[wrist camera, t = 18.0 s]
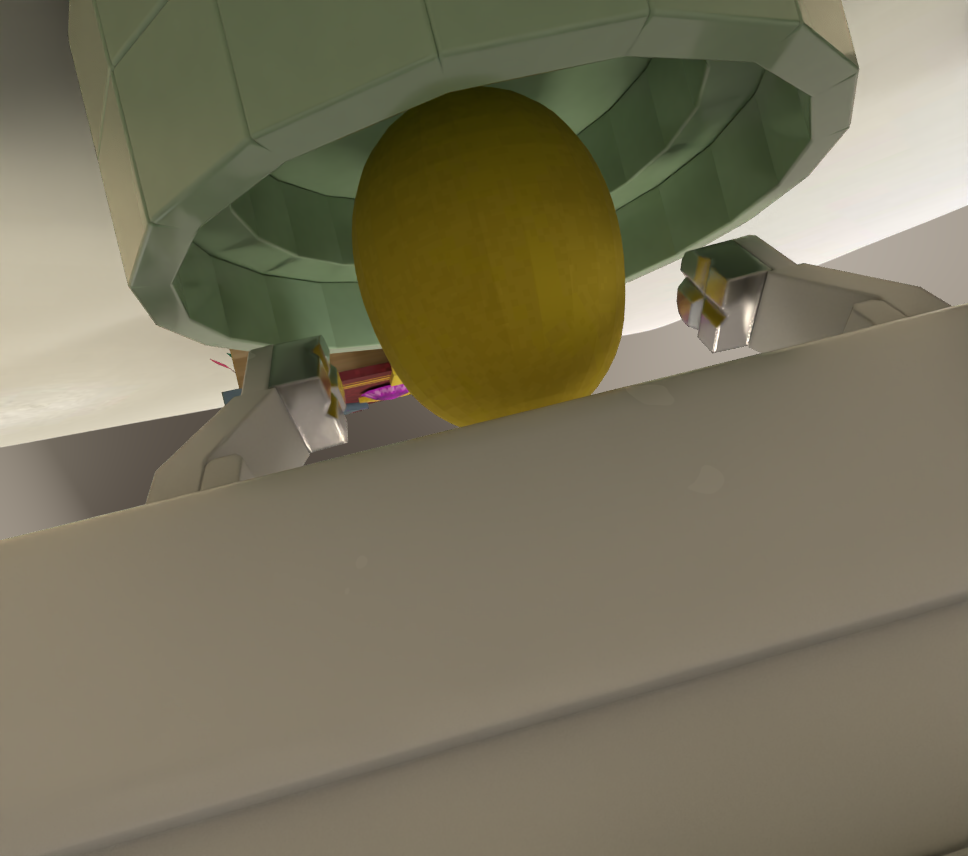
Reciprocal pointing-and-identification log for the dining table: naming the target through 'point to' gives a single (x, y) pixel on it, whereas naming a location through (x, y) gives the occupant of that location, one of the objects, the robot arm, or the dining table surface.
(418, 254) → the lemon
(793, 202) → the dining table surface
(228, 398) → the decorative book
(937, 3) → the dining table surface
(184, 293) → the bowl
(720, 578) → the robot arm
